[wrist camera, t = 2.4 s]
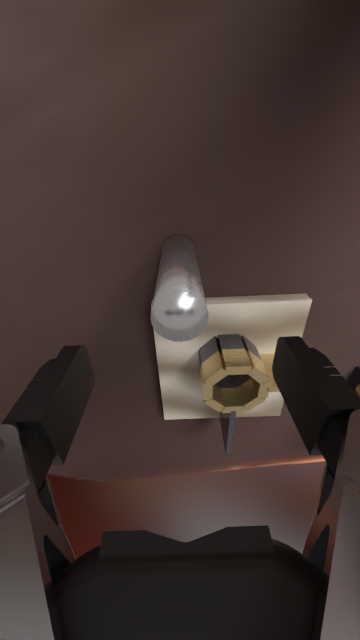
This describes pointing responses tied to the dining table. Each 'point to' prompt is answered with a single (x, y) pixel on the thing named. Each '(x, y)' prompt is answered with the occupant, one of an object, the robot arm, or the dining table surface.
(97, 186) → the dining table surface
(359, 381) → the ammunition clip
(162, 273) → the hinge pin
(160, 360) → the base plate with nut
